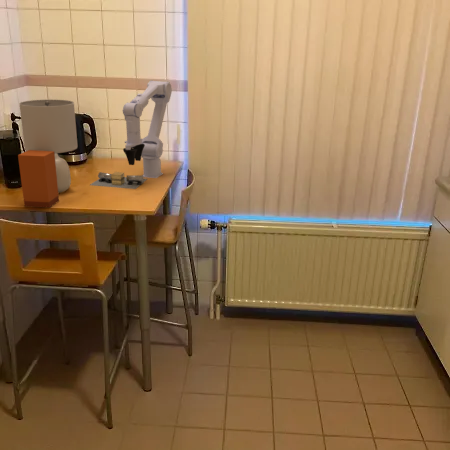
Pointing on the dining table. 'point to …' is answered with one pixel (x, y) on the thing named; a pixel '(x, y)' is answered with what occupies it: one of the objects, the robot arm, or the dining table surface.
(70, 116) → the lamp
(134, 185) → the mat
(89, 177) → the dining table surface
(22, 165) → the tall terracotta brick
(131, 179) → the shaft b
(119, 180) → the tan rectangular block
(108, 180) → the shaft
